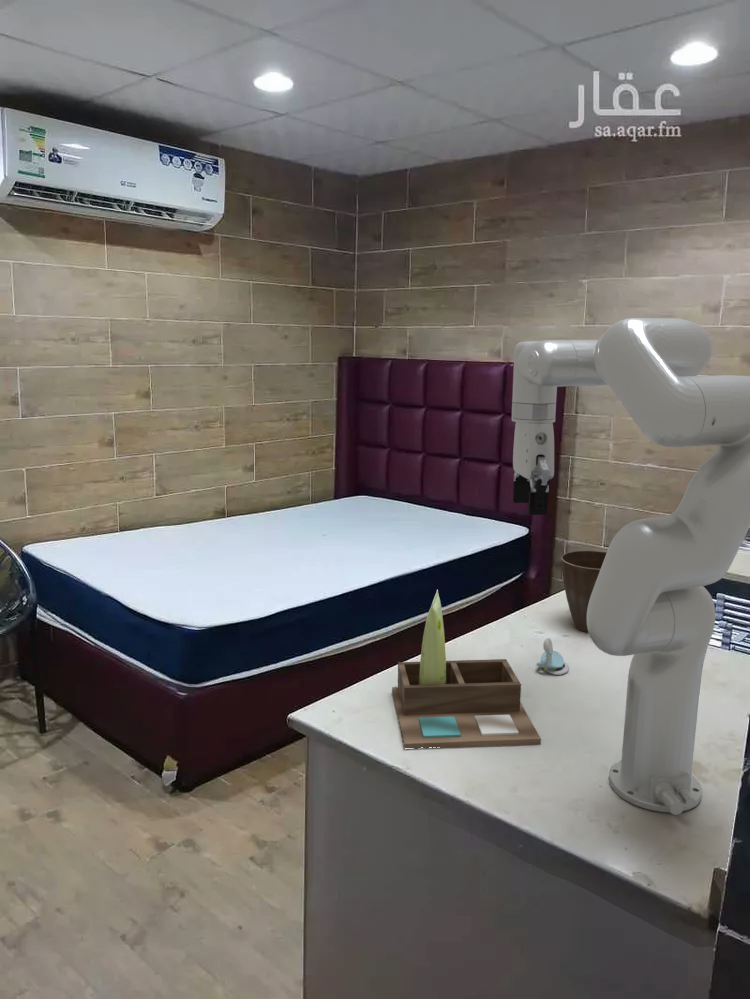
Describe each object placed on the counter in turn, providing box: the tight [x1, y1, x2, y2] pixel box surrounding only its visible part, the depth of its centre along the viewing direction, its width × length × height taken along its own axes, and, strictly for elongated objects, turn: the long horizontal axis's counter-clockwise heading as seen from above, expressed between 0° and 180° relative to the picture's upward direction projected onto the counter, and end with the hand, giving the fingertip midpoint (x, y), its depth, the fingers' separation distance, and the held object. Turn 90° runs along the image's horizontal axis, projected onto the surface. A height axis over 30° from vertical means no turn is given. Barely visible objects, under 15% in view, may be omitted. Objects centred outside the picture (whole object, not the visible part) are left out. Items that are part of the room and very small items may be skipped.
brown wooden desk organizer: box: [391, 658, 542, 749], centre depth 131 cm, size 20×22×6 cm
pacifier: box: [536, 637, 570, 676], centre depth 150 cm, size 7×6×6 cm
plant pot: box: [560, 550, 607, 634], centre depth 171 cm, size 15×15×16 cm
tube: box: [419, 589, 447, 685], centre depth 133 cm, size 6×5×20 cm
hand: (529, 508), depth 137 cm, fingers open, 9 cm apart
